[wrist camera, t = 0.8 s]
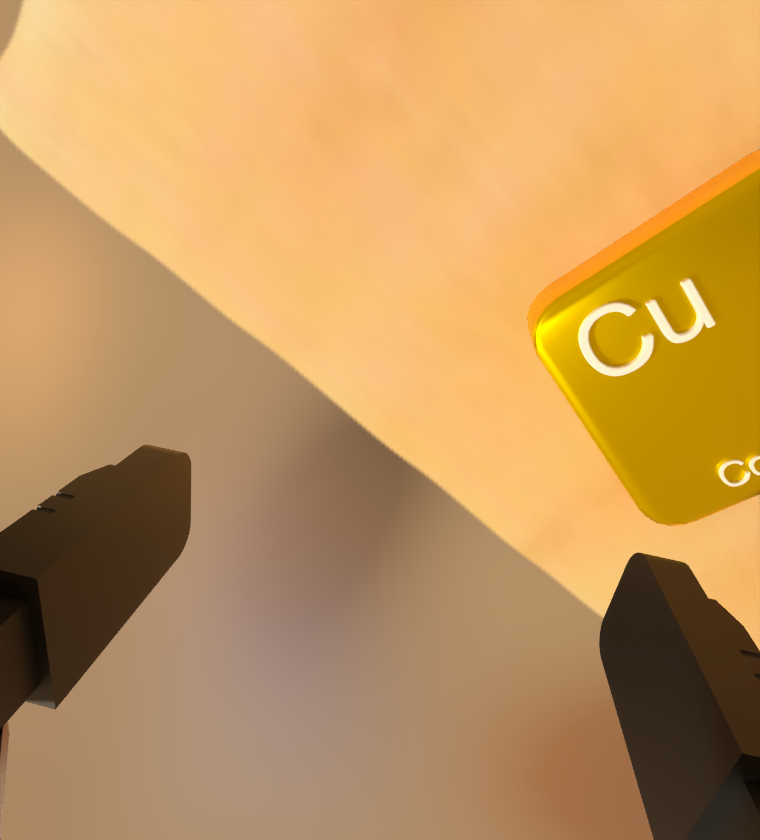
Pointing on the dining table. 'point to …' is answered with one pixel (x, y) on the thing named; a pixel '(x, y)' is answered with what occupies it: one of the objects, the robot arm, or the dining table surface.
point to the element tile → (668, 350)
